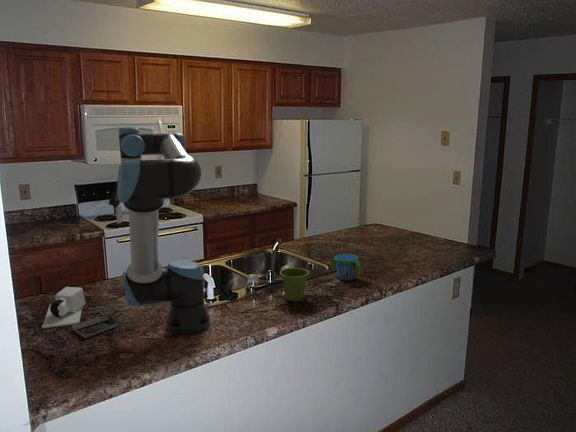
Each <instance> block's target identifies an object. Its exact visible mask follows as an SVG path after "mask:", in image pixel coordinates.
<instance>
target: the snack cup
mask: <svg viewBox="0 0 576 432" xmlns="http://www.w3.org/2000/svg"><path fill="white" fill-rule="evenodd" d="M331 267H332V269H335V268H336V272H337V273H336V276H337V278H338V279H339V280H340V281H344V282H347V281H353V280H355V277H356V276H360V275H361V274H362V273H363V272H362V265H361V262H360V261H359V257H358V256H357V255H355V254H351V253H342V254H341V253H340V254H338V255H335V256H334V257H333V258H332V262H331ZM356 272H357V273H356ZM356 274H357V275H356Z"/></svg>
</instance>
